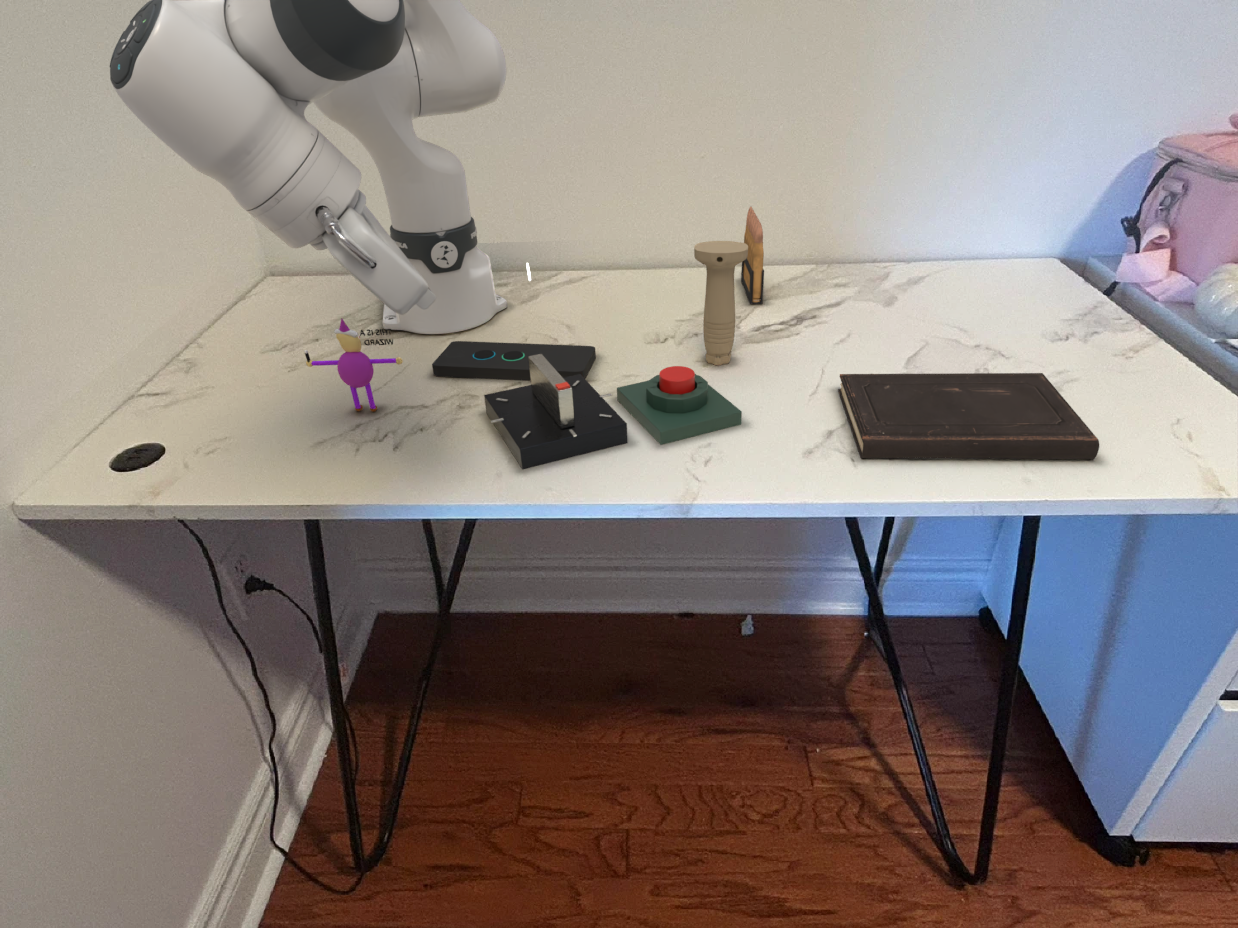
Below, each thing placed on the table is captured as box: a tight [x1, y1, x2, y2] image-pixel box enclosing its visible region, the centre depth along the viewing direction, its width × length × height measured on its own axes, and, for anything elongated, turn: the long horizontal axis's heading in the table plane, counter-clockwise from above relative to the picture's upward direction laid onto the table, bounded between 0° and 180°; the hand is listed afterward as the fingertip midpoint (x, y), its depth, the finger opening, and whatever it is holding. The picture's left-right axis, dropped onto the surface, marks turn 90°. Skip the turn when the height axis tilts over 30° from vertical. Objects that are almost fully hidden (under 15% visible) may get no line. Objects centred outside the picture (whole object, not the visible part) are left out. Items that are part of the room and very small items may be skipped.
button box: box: [616, 373, 743, 446], centre depth 94 cm, size 12×10×4 cm
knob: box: [528, 354, 575, 429], centre depth 91 cm, size 10×2×5 cm, turn 23°
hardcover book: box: [837, 372, 1100, 460], centre depth 90 cm, size 16×23×2 cm
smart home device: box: [431, 340, 597, 382], centre depth 107 cm, size 8×2×20 cm
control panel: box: [483, 374, 628, 470], centre depth 93 cm, size 14×14×3 cm
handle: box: [693, 240, 748, 367], centre depth 103 cm, size 5×6×15 cm
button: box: [658, 365, 696, 394], centre depth 93 cm, size 4×4×2 cm
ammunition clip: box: [740, 206, 765, 305], centre depth 125 cm, size 11×2×12 cm, turn 0°
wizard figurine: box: [303, 317, 404, 413], centre depth 95 cm, size 11×3×12 cm, turn 89°
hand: (427, 299), depth 78 cm, fingers closed
